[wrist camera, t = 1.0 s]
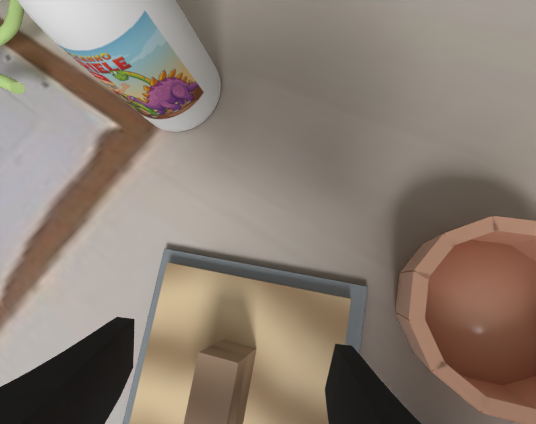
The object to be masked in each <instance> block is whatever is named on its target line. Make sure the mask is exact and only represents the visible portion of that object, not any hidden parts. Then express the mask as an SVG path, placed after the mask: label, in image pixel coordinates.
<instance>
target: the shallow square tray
mask: <svg viewBox="0 0 536 424" xmlns="http://www.w3.org/2000/svg"><path fill="white" fill-rule="evenodd" d="M167 263H175V264H180V265H185V266H190V267H195V268H200V269H205V270H210V271H215V272H220V273H225V274H230V275H235V276H240V277H245V278H250V279H255V280H260V281H265V282H270V283H275V284H280V285H286V286H291V287H296V288H301V289H306V290H311V291H316V292H321V293H326V294H331V295H336V296H341V297H346V298H351V303H350V311H349V318H348V326H347V334H346V341H345V345H351V346H353V347H354V349H355V350H356V351H357V352H358V353H359V352H360V344H361V336H362V328H363V320H364V312H365V304H366V296H367V288H368V287H367V286H362V285H356V284H351V283H346V282H340V281H335V280H330V279H324V278H319V277H313V276H308V275H303V274H297V273H292V272H287V271H281V270H276V269H271V268H265V267H260V266H255V265H249V264H244V263H238V262H233V261H228V260H222V259H217V258H212V257H206V256H201V255H196V254H190V253H185V252H180V251H174V250H169V249H164V253H163V257H162V261H161V265H160V269H159V274H158V278H157V282H156V286H155V290H154V295H153V299H152V303H151V307H150V311H149V316H148V320H147V324H146V328H145V332H144V337H143V341H142V345H141V349H140V353H139V358H138V362H137V366H136V370H135V374H134V378H133V383H132V387H131V391H130V395H129V399H128V404H127V408H126V412H125V416H124V420H123V424H129V422H130V418H131V414H132V409H133V405H134V401H135V397H136V392H137V388H138V384H139V380H140V375H141V371H142V367H143V363H144V358H145V354H146V350H147V346H148V341H149V337H150V333H151V329H152V324H153V320H154V316H155V312H156V307H157V303H158V299H159V295H160V290H161V286H162V282H163V278H164V273H165V269H166V265H167Z"/></svg>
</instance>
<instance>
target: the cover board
mask: <svg viewBox="0 0 536 424" xmlns="http://www.w3.org/2000/svg"><path fill="white" fill-rule="evenodd" d="M350 303H351V298H346V297H341V296H336V295H331V294H326V293H321V292H316V291H311V290H306V289H301V288H296V287H291V286H286V285H280V284H275V283H270V282H265V281H260V280H255V279H250V278H245V277H240V276H235V275H230V274H225V273H220V272H215V271H210V270H205V269H200V268H195V267H190V266H185V265H180V264H175V263H167V265H166V269H165V273H164V278H163V282H162V286H161V290H160V295H159V299H158V303H157V307H156V312H155V316H154V320H153V324H152V329H151V333H150V337H149V341H148V346H147V350H146V354H145V358H144V363H143V367H142V371H141V375H140V380H139V384H138V388H137V392H136V397H135V401H134V405H133V409H132V414H131V418H130V422H129V424H329V421H328V414H327V407H326V397H325V386H326V382H327V377H328V373H329V369H330V364H331V360H332V356H333V351H334V347H335V344H342V345H345V341H346V334H347V326H348V318H349V311H350Z"/></svg>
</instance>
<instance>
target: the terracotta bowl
mask: <svg viewBox="0 0 536 424" xmlns="http://www.w3.org/2000/svg"><path fill="white" fill-rule="evenodd" d="M395 312H396V315H397V317H398V320H399V322H400V324H401V327H402V329H403V331H404V333H405V336H406V338H407V340H408V343H409V345H410V347H411V349H412V352H413V353H414V354H415V355H416V356H417V357H418V358H419V359H420V360H421V361H422V362H423V363H424V364H425V365H426V366H427V368H428V369H429V370H430V371H431V372H432V373H434V374H435V375H436V376H437V377H438V378H440V379H441V380H442V381H443V382H444V383H445V384H447V385H448V386H449V387H450V388H451V389H453V390H454V391H455V392H456V393H457V394H459V395H460V396H461V397H462V398H463V399H465V400H466V401H467V402H468V403H469V404H470V405H472V406H473V407H474V408H475V409H476V410H478V411H479V412H481V413H483V414H486V415H490V416H494V417H498V418H502V419H505V420H509V421H513V422H517V423H521V424H536V221H533V220H524V219H516V218H507V217H499V216H490V217H487V218H485V219H482V220H479V221H476V222H474V223H471V224H468V225H465V226H463V227H460V228H457V229H454V230H452V231H449V232H446V233H443V234H441V235H439V236H437V237H435V238H433V239H431V240H428V241H426V242H424V243H423V244H422V245H421V247H420V248H419V249H418V250H417V252H416V253H415V254H414V255H413V257H412V258H411V259H410V260H409V261H408V263H407V264H406V265H405V266H404V268H403V269H402V270H401V271H400V273H399V282H398V291H397V300H396V310H395Z"/></svg>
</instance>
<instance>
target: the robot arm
mask: <svg viewBox="0 0 536 424" xmlns="http://www.w3.org/2000/svg"><path fill="white" fill-rule="evenodd" d="M133 352H134V319H129V318H121V317H116V318H115V319H113V320H111V321H110V322H108V323H107V324H105V325H104V326H102V327H101V328H99V329H98V330H96V331H95V332H93V333H92V334H90V335H89V336H87V337H86V338H84V339H82V340H81V341H79V342H78V343H76V344H75V345H73V346H72V347H70V348H68V349H67V350H65V351H64V352H62V353H60V354H59V355H57V356H55V357H54V358H52V359H50V360H48V361H47V362H45V363H43V364H42V365H40V366H38V367H37V368H35V369H33V370H31V371H30V372H28V373H26V374H24V375H22V376H21V377H19V378H17V379H15V380H13V381H11V382H9V383H7V384H5V385H3V386H1V387H0V424H105V422H106V420H107V419H108V417H109V415H110V413H111V412H112V410H113V408H114V406H115V405H116V403H117V401H118V399H119V398H120V396H121V394H122V391H123V389H124V387H125V385H126V382H127V380H128V378H129V375H130V373H131V371H132V368H133ZM325 397H326V407H327V414H328V421H329V424H421V423H420V422H419V421H418V420H417V419H416V418H415V417H414V416H413V415H412V414H411V413H410V412H409V411H408V410H407V409H406V408H405V407H404V406H403V405H402V404H401V402H400V401H399V400H398V399H397V398H396V397H395V396H394V395H393V394H392V393H391V391H390V390H389V389H388V388H387V387H386V386H385V385H384V383H383V382H382V381H381V380H380V379H379V378H378V376H377V375H376V374H375V373H374V372H373V370H372V369H371V368H370V367H369V366H368V364H367V363H366V362H365V361H364V359H363V358H362V357H361V356H360V355H359V353H358V352H357V351H356V350H355V349H354V347H353V346H351V345H342V344H335V347H334V351H333V356H332V360H331V364H330V369H329V373H328V377H327V382H326V386H325Z"/></svg>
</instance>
